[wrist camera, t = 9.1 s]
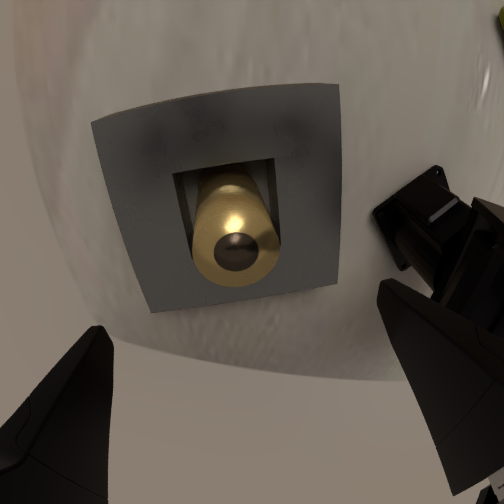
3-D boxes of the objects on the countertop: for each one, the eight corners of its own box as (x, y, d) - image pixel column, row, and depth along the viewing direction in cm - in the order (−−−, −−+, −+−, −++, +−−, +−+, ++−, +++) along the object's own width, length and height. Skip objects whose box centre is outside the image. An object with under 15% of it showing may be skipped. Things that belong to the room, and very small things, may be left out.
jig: (323, 258, 22) (337, 283, 19) (156, 284, 21) (151, 313, 18) (319, 83, 15) (339, 84, 13) (109, 114, 15) (90, 122, 12)
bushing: (267, 194, 19) (295, 257, 13) (222, 227, 19) (229, 300, 13) (232, 151, 17) (245, 194, 11) (186, 187, 18) (173, 248, 12)
